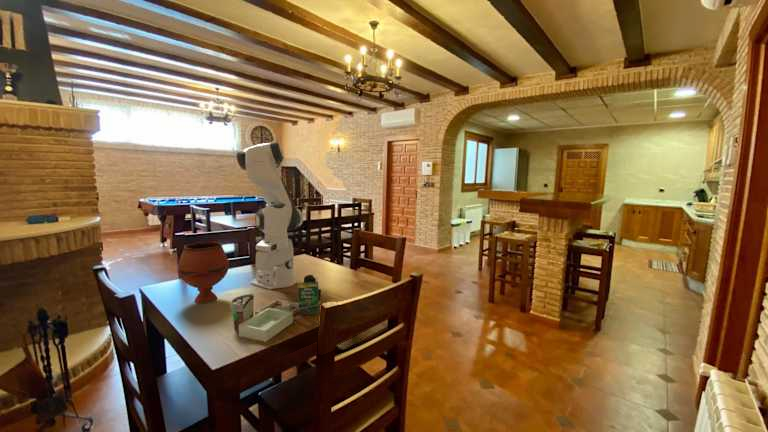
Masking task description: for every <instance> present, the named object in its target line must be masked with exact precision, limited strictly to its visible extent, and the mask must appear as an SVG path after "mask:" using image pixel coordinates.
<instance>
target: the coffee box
mask: <svg viewBox="0 0 768 432" xmlns="http://www.w3.org/2000/svg"><path fill="white" fill-rule="evenodd" d="M318 286H319V281H318V282H304V281H301V282H300V281H299V282H298V283H297V298H298V299H297V301H298V302H297V303H298V306H299V311H298V316H308V315H309V316H310V315H311V316H317V315H319V308H320V307H319V305H320V304H319V301H318Z"/></svg>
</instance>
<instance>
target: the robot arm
mask: <svg viewBox="0 0 768 432" xmlns="http://www.w3.org/2000/svg"><path fill="white" fill-rule="evenodd" d="M284 154H285V152H284V149H283V147H282V146H281V144H280V143H278V142H277V141H270V142H266V143H259V144H256V145H252V146H250V147H246V148H242V149H240V150H238V151H237V153H236V162H237V164H238V165H239V167H240V169H241V170H243V171H246V175H247V178H248V180H249V183H251V184H252V185H254V186H255V187H257V188H260V191H261V194H262V198H263V200H264V202H265V203H266V204H265V207H263V208H260V209H259V210H258V211H257V212H256V213H255V216H254V217H255V218H254V219H255V222H254V226H255V227H256V228H257V229H259V230H260V231H261V232H262V233H264V238H263V239H262V240H261V241H259V242H258V243H257V244H256V245H255V250H256V253H255V269H256V270H257V272H256V274H255V275H256V276H255V278H254V279H252V280H251V282H250V285H253V286H257V287H259V288H264V289H267V290H274V289H280V288H288V287H291V286H294V285H295V284H296V283H297V281H296V278H295V273H294V246H293V242H292V240H291V238H288V237H289V235H288V231H295V230H296V229H297V228H298V227H300V226H301V225H302V224H303V223H304V215H303V213H302V211H301V210H300V209H299V208H297V207H296V205H295V203H294V201H293V198H292V196H291V194H290V191H289V190H288V188H287V185H286V183H285V181H284V180H283V178H282V176H281V175H280V172H279V170H278V167H280V166H281V163H282V162H283V161H284V158H285V157H284V156H285V155H284ZM276 165H277V166H276ZM273 267H280V268H284V270H283V280H282V281H280V282H278V283H276V282H271V281H269V278H273V277H275V273H273Z"/></svg>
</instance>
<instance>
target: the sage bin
mask: <svg viewBox="0 0 768 432" xmlns="http://www.w3.org/2000/svg"><path fill="white" fill-rule="evenodd" d="M293 317H294V314H293V312H289V311H283V310H281V309H279V308H278V309H276V308H273V307H271V308H267V309H266V310H264V311H262V312H260V313H259V314H257V315H253V317H252V318H250V319H248V320H246V321H245V322H243V323H241V324H240V325H239V331H238V337H240V338H241V337H242V338H247V339H251V340H256V341H259V342H264V343H266V342H267V341H269V340H270V339H272V338H273V337H274V336H277V334H278V333H280V332H281V331H283V330H284V329H285V328H287V327H289V325H291V324H292V323H293V322H294V319H293Z"/></svg>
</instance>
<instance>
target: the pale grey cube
mask: <svg viewBox="0 0 768 432" xmlns="http://www.w3.org/2000/svg"><path fill="white" fill-rule="evenodd" d="M280 310H283V311H289V312H290V311H292V310H293V306H292V303H283V304H282V305H281V304H280Z"/></svg>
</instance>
